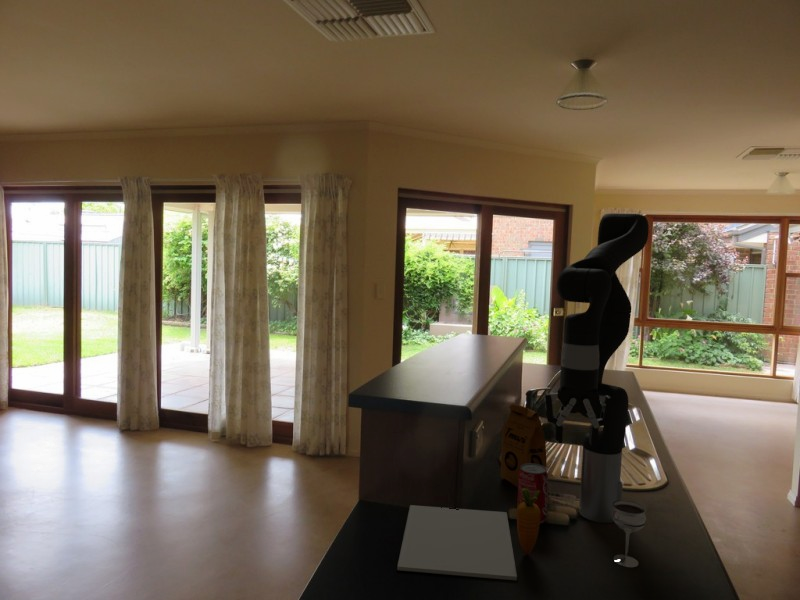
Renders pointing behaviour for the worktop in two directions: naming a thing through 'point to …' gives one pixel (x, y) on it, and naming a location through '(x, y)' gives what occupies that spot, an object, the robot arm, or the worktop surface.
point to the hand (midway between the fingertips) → (575, 442)
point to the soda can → (534, 486)
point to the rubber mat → (457, 543)
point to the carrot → (528, 521)
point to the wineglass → (628, 525)
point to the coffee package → (521, 442)
